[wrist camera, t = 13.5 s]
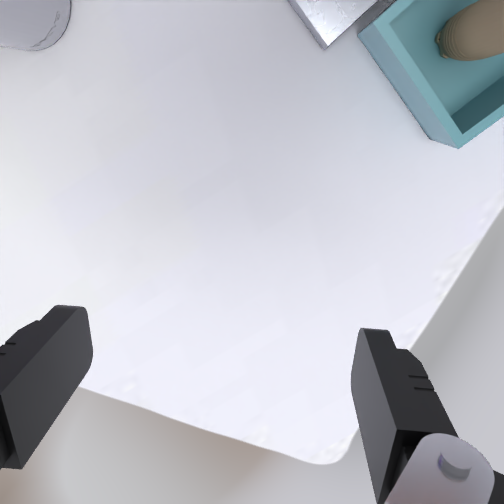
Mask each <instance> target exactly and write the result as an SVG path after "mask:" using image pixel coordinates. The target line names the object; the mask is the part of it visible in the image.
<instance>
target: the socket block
mask: <svg viewBox="0 0 504 504" xmlns="http://www.w3.org/2000/svg"><path fill="white" fill-rule="evenodd" d="M377 1H378V0H288V2H289V3H290V5H291V6H292V7H293V9H294V10H295V11H296V13H297V14H298V16H299V17H300V18H301V20H302V21H303V22H304V24H305V25H306V27H307V28H308V29H309V31H310V32H311V33H312V35H313V36H314V38H315V39H316V40H317V42H318V43H319V44H320V46H321V47H322V49H323V50H325V49H326V48H327V47H328V46H329V45H330V44H331V43H332V42H333V41H334V40H336V39H337V38H338V37H339V36H340V35H341V34H342V33H343V32H344V31H345V30H346V29H347V28H349V27H350V26H351V25H352V24H353V23H354V22H355V21H356V20H357V19H358V18H359V17H361V16H362V15H363V14H364V13H365V12H366V11H367V10H368V9H369V8H370V7H371V6H372V5H374V4H375V3H376V2H377Z"/></svg>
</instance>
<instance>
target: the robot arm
mask: <svg viewBox="0 0 504 504" xmlns="http://www.w3.org/2000/svg"><path fill="white" fill-rule="evenodd" d="M70 8H71V5H70V0H0V46H2V47H8V48H15V49H21V50H33V51H37V50H41V49H45V48H47V47H49V46H51V45H53V44H54V43H55V42H56V41H57V40H58V39H59V38H60V37H61V36H62V34H63V32H64V31H65V29H66V26H67V23H68V20H69V16H70ZM92 357H93V347H92V340H91V334H90V327H89V321H88V314H87V311H86V309H85V308H84V307H80V306H67V305H56V306H54V307H53V308H52V309H51V310H50V311H49V312H48V313H47V314H46V315H45V316H44V317H43V318H42V319H41V320H40V321H38V320H36V321H34V322H32V323H30V324H29V325H27V326H25V327H23V328H21V329H19V330H18V331H17V332H16V333H15V334H14V335H12V336H11V337H10V338H9V339H8V340H7V341H6V342H5V345H2V346H1V347H0V469H1V468H12V469H22V468H23V467H24V465H25V464H26V462H27V461H28V459H29V458H30V456H31V455H32V454H33V452H34V451H35V449H36V448H37V446H38V445H39V443H40V442H41V440H42V439H43V437H44V436H45V434H46V433H47V431H48V430H49V428H50V427H51V425H52V424H53V422H54V421H55V419H56V418H57V416H58V415H59V413H60V412H61V410H62V409H63V407H64V406H65V405H66V403H67V401H68V400H69V399H70V397H71V396H72V394H73V392H74V391H75V390H76V388H77V387H78V385H79V384H80V382H81V381H82V379H83V378H84V376H85V375H86V373H87V372H88V370H89V368H90V366H91V362H92ZM351 391H352V396H353V401H354V405H355V410H356V414H357V418H358V423H359V427H360V431H361V436H362V440H363V445H364V449H365V453H366V458H367V462H368V467H369V471H370V476H371V480H372V485H373V489H374V493H375V497H376V502H377V504H504V475H503V474H500V473H498V472H496V471H494V470H493V469H492V467H491V465H490V463H489V462H488V461H487V459H486V458H485V457H484V456H483V454H482V453H481V452H479V451H478V450H477V449H476V448H475V447H473V446H472V445H470V444H469V443H468V442H466V441H464V440H462V439H460V438H459V437H458V435H457V433H456V431H455V429H454V427H453V425H452V423H451V421H450V420H449V417H448V415H447V413H446V411H445V409H444V407H443V406H442V403H441V401H440V399H439V397H438V395H437V393H436V392H434V387H433V385H432V383H431V381H430V380H428V375H427V373H426V371H425V370H424V367H423V365H422V363H421V362H420V361H419V360H418V359H417V358H416V357H415V356H414V355H412V353H411V352H409V351H408V350H407V349H397V348H396V346H395V344H394V341H393V339H392V337H391V334H390V332H389V331H388V330H381V329H368V328H361V329H360V330H359V333H358V338H357V343H356V349H355V355H354V360H353V366H352V371H351Z"/></svg>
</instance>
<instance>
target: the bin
mask: <svg viewBox="0 0 504 504" xmlns="http://www.w3.org/2000/svg"><path fill="white" fill-rule="evenodd" d="M477 1H479V0H395V1H394V2H393V3H392V4H391V5H390V6H389V7H388V8H386V9H385V10H384V11H383V12H382V13H381V14H380V15H379V16H378V17H377V18H375V19H374V20H373V21H372V22H371V23H370V24H369V25H368V26H367V27H366V28H364V29H363V30H362V31H361V32H360V33H359V34H358V37H359V38H360V40H361V41H362V42H363V44H364V45H365V47H366V48H367V50H368V51H369V53H370V54H371V55H372V57H373V58H374V60H375V61H376V63H377V64H378V65H379V67H380V68H381V70H382V71H383V73H384V74H385V76H386V77H387V78H388V80H389V81H390V83H391V84H392V86H393V87H394V89H395V90H396V91H397V93H398V94H399V96H400V97H401V99H402V100H403V101H404V103H405V104H406V106H407V107H408V109H409V110H410V112H411V113H412V114H413V116H414V117H415V119H416V120H417V122H418V123H419V125H420V126H421V127H422V129H423V130H424V132H425V133H426V135H427V136H428V138H429V139H431V140H434V141H437V142H440V143H443V144H446V145H448V146H451V147H454V148H457V149H459V148H461V147H462V146H463V145H465V144H466V143H468V142H469V141H470V140H472V139H473V138H474V137H476V136H477V135H479V134H480V133H481V132H483V131H484V130H485V129H487V128H488V127H490V126H491V125H492V124H494V123H495V122H496V121H498V120H499V119H501V118H502V117H503V116H504V53H502V54H498V55H495V56H492V57H489V58H485V59H481V60H475V61H460V60H455V59H452V58H447V59H446V58H443V57H441V56H440V49H439V46H438V45H437V43H435V37H436V35H437V33H439V32H440V31H441V30H442V29H443V28H444V26H445V24H446V21H447V20H448V19H449V18H451V17H453V16H454V15H455V14H457V13H458V12H459V11H461V10H462V9H464V8H465V7H467V6H469V5H470V4H473V3H475V2H477Z"/></svg>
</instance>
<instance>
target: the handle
mask: <svg viewBox="0 0 504 504" xmlns="http://www.w3.org/2000/svg"><path fill="white" fill-rule="evenodd" d="M435 43H437V45H438V46H439V49H440V56H441V57H443V58H446V59H447V58H452V59H455V60H460V61H475V60H481V59H485V58H489V57H492V56H495V55H498V54H502V53H504V0H479V1H477V2H475V3H473V4H470V5H469V6H467V7H465V8H464V9H462V10H461V11H459V12H458V13H457V14H455V15H454V16H453V17H451V18H449V19H448V20H447V21H446V24H445V26H444V28H443V29H442V30H441V31H440V32H439V33H437V35H436V37H435Z"/></svg>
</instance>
